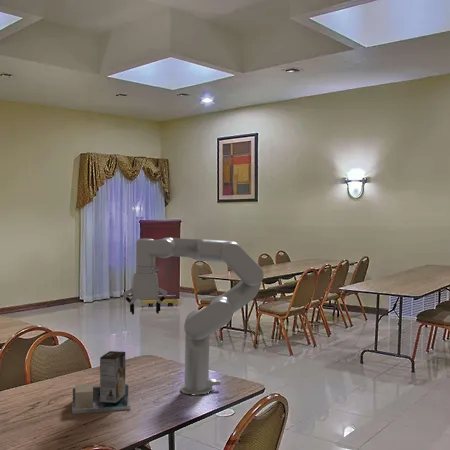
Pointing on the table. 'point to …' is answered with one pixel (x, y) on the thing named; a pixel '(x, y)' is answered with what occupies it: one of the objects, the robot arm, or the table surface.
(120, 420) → the table surface
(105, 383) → the coffee box
